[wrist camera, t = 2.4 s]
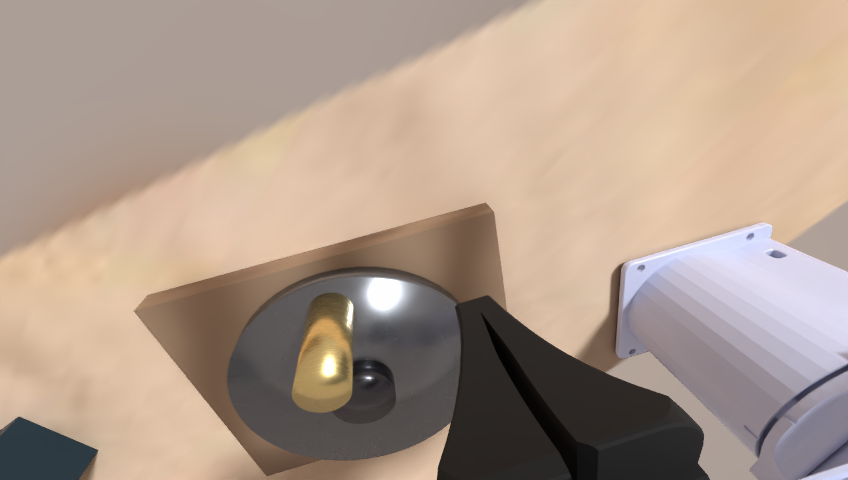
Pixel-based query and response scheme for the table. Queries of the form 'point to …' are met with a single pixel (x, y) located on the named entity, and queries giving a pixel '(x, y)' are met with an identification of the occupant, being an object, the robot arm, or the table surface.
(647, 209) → the table surface
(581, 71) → the table surface
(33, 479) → the watch
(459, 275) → the base board
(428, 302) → the handwheel
